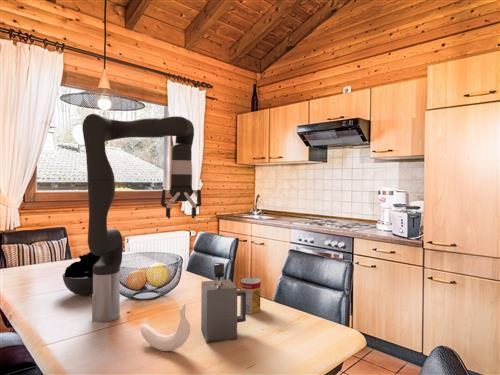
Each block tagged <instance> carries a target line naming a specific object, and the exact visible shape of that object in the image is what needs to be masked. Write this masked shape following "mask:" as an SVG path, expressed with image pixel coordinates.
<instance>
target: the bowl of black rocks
mask: <svg viewBox="0 0 500 375" xmlns="http://www.w3.org/2000/svg"><path fill="white" fill-rule="evenodd" d="M100 257H101V256H95V255H93V254H92V253H91V251H90V252H88V253H86V254H83V255H78V258H79V260H78V261H74V262H73V263H70V265H69V266H66V267H65V271H64V273H63V274H62V279H63V284H64V285H65V287H66V288H67V290H69V291H70V292H71V293H72V294H75V295H78V296H81V297H88V296H92V295H93V266H94V265H95V264H96V263H97V262H98V261H99V259H100Z"/></svg>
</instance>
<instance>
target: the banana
mask: <svg viewBox="0 0 500 375" xmlns="http://www.w3.org/2000/svg"><path fill="white" fill-rule="evenodd" d="M178 311H179V322H178V324H177V327H176V329H175V331H174V332H173V333H171V334H169V335H168V334H167V335H164V334H161V333H159V332H158V331H157V330H156V329H154V328H153V327H151V326H149V324H146V323H144V324H142V325H141V326H140V333H141V335H142V337H143V339H144V340H145V342H147V344H148V345H149V346H151V347H152V348H154V349H155V350H158V351H162V352H171V351H175V350H178V349H180V348H181V347H182V346H183V345H184V344H185V343H186V342H187V341H188V338H189V336H190V334H191V325H190V322H189V320H188V319H187V317H186V303H184V304H183V306H182V307H180V308H179V310H178Z"/></svg>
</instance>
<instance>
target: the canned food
mask: <svg viewBox="0 0 500 375" xmlns="http://www.w3.org/2000/svg"><path fill="white" fill-rule="evenodd" d="M261 284H262V283H261V279H260V278H256V277H244V278H242V279H240V290H244V291H245V292H246V315H255V314H258V313H260V311H261Z"/></svg>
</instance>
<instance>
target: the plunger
mask: <svg viewBox="0 0 500 375" xmlns="http://www.w3.org/2000/svg"><path fill="white" fill-rule="evenodd" d="M213 277H214V278H217V279H216V280H217V286H221V280H222V278H223V277H225V263H224V262H216V263H213Z"/></svg>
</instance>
